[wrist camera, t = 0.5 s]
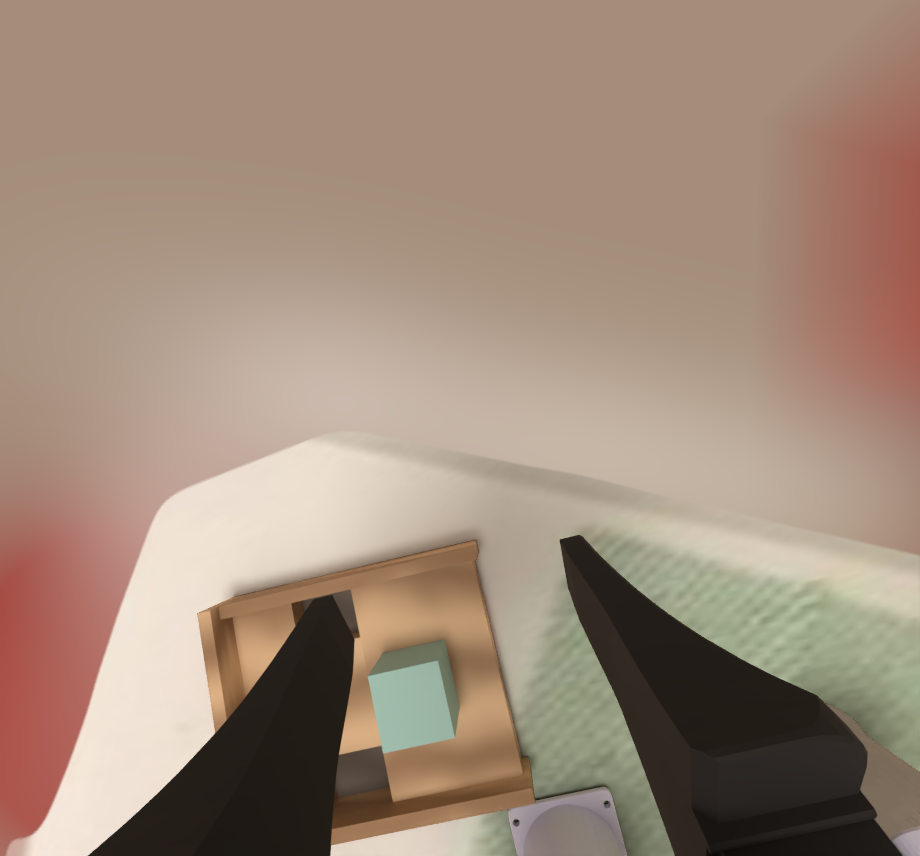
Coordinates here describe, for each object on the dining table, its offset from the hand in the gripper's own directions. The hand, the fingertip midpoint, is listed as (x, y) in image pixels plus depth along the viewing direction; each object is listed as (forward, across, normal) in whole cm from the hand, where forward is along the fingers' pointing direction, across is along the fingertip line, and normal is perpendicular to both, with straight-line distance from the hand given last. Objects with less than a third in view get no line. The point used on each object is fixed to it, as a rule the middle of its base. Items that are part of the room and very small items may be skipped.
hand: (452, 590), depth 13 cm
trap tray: (+14, +11, +21) cm, 28 cm away
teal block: (+12, +7, +20) cm, 25 cm away
